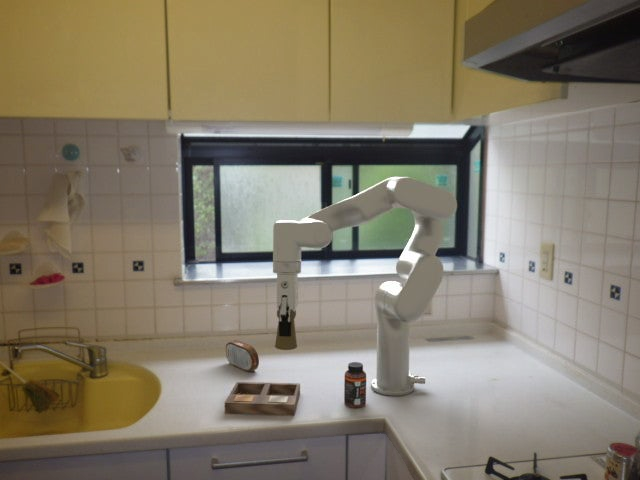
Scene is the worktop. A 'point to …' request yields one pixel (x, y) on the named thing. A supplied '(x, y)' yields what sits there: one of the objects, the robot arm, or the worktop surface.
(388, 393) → the robot arm
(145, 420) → the worktop surface
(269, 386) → the socket block
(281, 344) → the olive piece
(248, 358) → the tin
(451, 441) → the worktop surface
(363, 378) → the supplement bottle
